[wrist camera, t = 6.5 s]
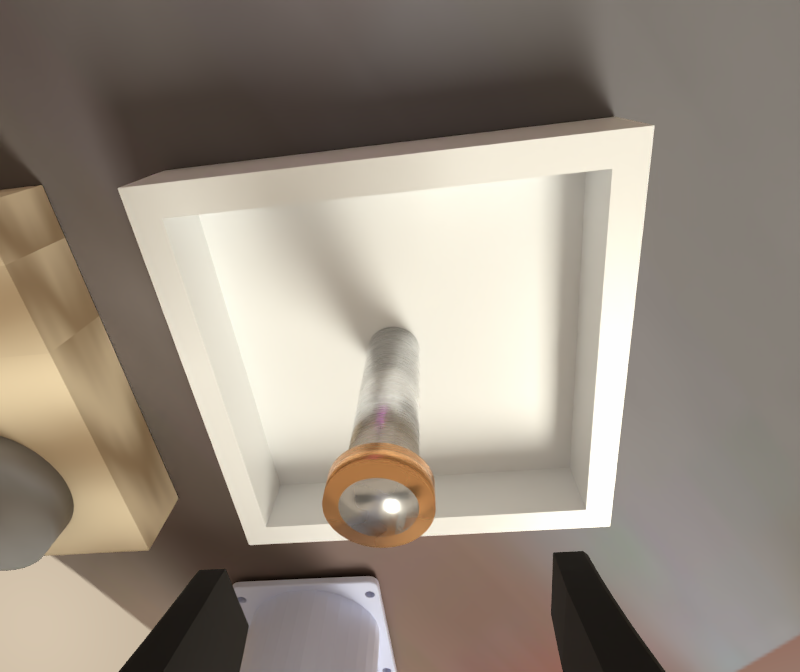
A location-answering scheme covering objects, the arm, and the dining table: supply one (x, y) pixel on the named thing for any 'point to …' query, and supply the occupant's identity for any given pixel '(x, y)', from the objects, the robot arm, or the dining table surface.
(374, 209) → the tray
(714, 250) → the dining table surface
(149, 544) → the block
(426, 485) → the pin
